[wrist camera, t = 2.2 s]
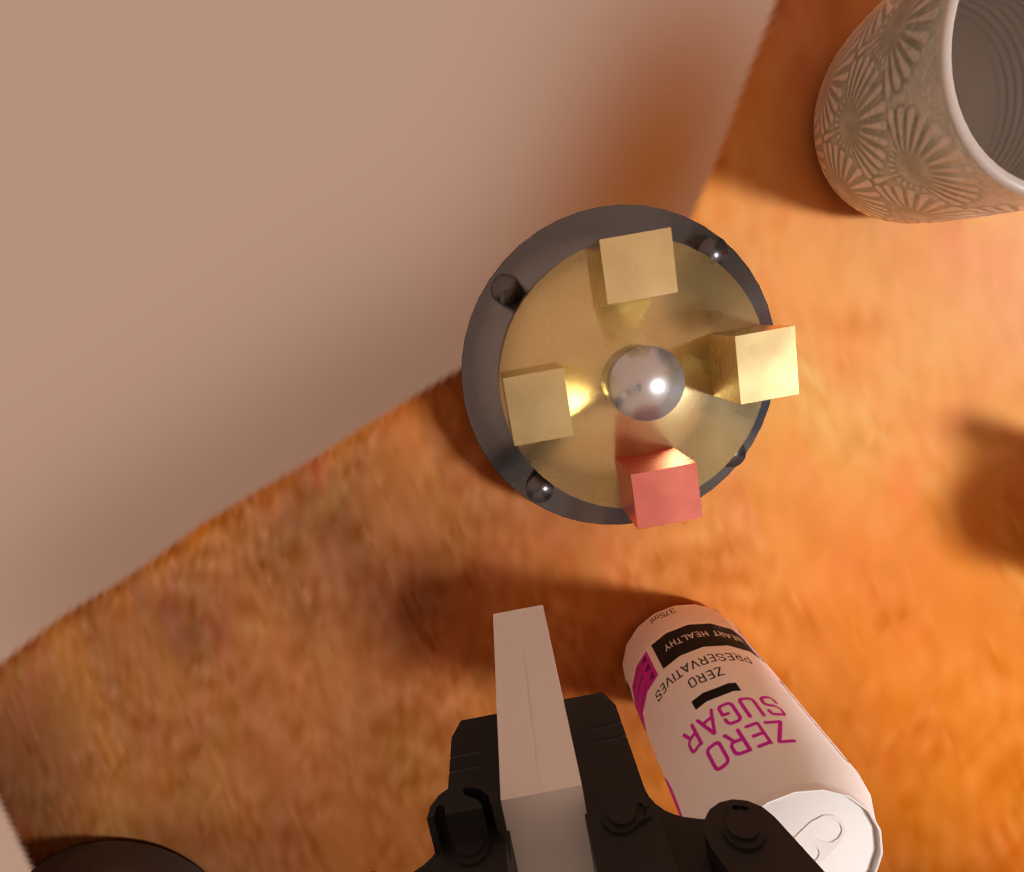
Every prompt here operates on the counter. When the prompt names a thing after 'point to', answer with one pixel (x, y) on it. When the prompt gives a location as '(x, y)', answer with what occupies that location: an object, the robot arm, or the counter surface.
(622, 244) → the brass disc with cubes
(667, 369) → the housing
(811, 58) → the counter surface
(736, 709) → the supplement can
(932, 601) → the counter surface
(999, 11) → the planter
